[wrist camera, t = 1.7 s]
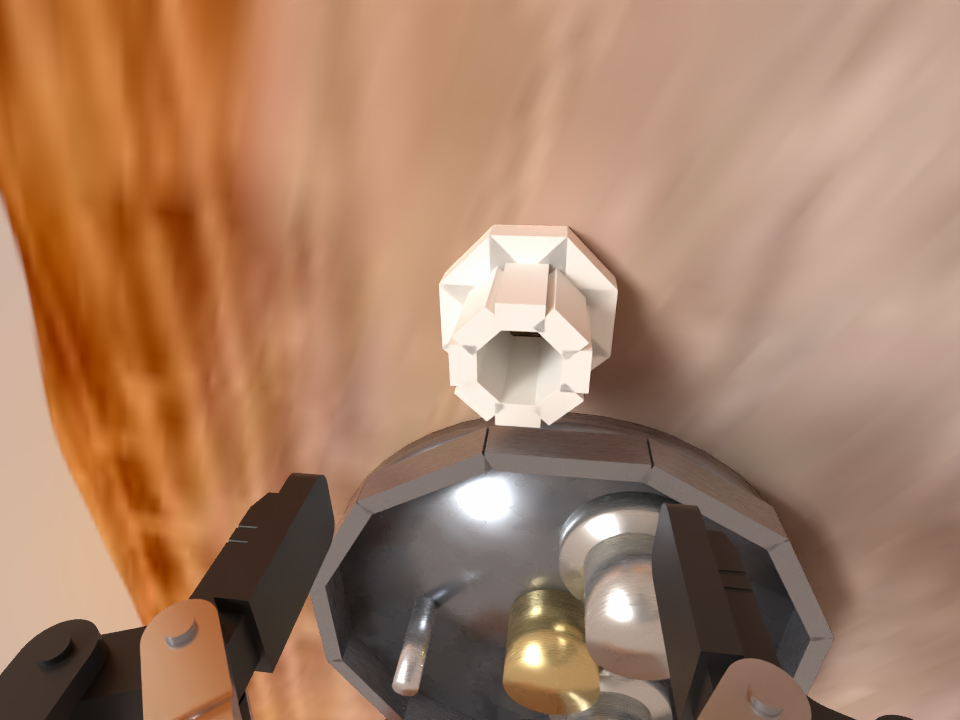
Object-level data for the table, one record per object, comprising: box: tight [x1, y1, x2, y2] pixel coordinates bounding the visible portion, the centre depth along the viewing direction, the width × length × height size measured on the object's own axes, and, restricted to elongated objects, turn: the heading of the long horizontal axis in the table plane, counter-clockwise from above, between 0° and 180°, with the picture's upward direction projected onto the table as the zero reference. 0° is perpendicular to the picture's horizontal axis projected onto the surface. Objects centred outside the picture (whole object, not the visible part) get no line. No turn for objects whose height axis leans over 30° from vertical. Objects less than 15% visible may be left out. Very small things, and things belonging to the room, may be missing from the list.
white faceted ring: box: [439, 224, 618, 428], centre depth 22 cm, size 7×7×6 cm
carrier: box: [310, 412, 834, 720], centre depth 30 cm, size 27×27×7 cm
